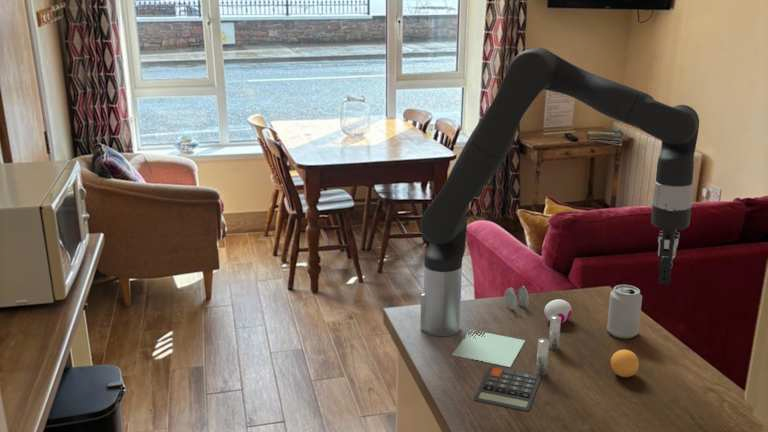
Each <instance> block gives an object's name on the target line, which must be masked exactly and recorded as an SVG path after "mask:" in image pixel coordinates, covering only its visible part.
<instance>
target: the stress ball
mask: <svg viewBox="0 0 768 432" xmlns="http://www.w3.org/2000/svg"><path fill="white" fill-rule="evenodd" d="M572 309H573V308H572V305H571V304H570V303H569V302H568V301H566V300H564V299H560V298H559V299H554V300H551V301H549V302H548V303H547V304H546V305H545V307H544V311H543V313H544V316H545V318H546V319H547V320H548V321H549V322H550V320H551V316H553V315H557V316H560V317H561V324H562V325H564V326H566V327H568V325H567V324H565V323H564V322H566V321H568V319H570V318H571V317H572V314H573V313H572V312H573V310H572Z"/></svg>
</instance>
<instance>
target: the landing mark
mask: <svg viewBox="0 0 768 432" xmlns="http://www.w3.org/2000/svg"><path fill="white" fill-rule="evenodd" d="M471 330H473V329H470V330H469V331H471ZM473 332H474V330H473ZM482 332H483V333H484V331H482ZM483 333H482V334H483ZM472 334H473V333H472ZM472 334H471V335H472ZM479 334H480V333H479ZM479 334H478V335H479ZM482 334H481V335H480V336H478V335H476V334H474V335H473V336H471V335H469V336H468V333H466V335H465V337H466V338H465V337H464V338H465V339H464V338H463V339H462V340H461V342H460V343H459V345H458V346H457V347H456V349H455V350H454V351H453V352H452V354H451V355H452V356H453V357H458V358H463V359H468V360H472V359H473V361H476V360H478V362H481V361H483V362H482V363H487V364H492V365H497V366H501V367H506V368H511V367H512V365H513V364H514V362H515V360H516V359H517V356H518V355H519V353H520V351H521V350H522V348H523V346H524V345H525V343H526V340H524V339H520V338H515V337H510V336H505V335H499V334H494V333H490V332H489V333H488V332H485V334H484V335H483V336H482ZM475 335H476V336H475ZM467 336H468V337H467ZM470 336H471V337H470ZM474 336H475V337H474ZM481 336H482V337H481ZM484 336H485V337H484ZM469 337H470V338H469ZM473 337H474V338H473ZM475 338H476V339H475Z"/></svg>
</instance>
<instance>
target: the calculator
mask: <svg viewBox="0 0 768 432" xmlns="http://www.w3.org/2000/svg"><path fill="white" fill-rule="evenodd" d="M541 380H542V376H541V375H538V374H536V373H535V374H534V373H530V372H525V371H518V370H513V369H507V368H502V367H496V366H493V365H492V366H490V367H489V369H488V370H487V372H486V374H485V375H484V378H483V380H482V382H481V384H480V386H479V387H478V390H477V392H476V394H475V395H474V397H473V401H474V402H478V403H479V402H480V403H483V404H488V405H493V406H497V407H498V406H499V407H504V408H508V409H512V410H517V411H523V412H529V411H530V409H531V405H532V403H533V401H534V399H535V395H536V393H537V390H538V388H539V385H540V382H541Z"/></svg>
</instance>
